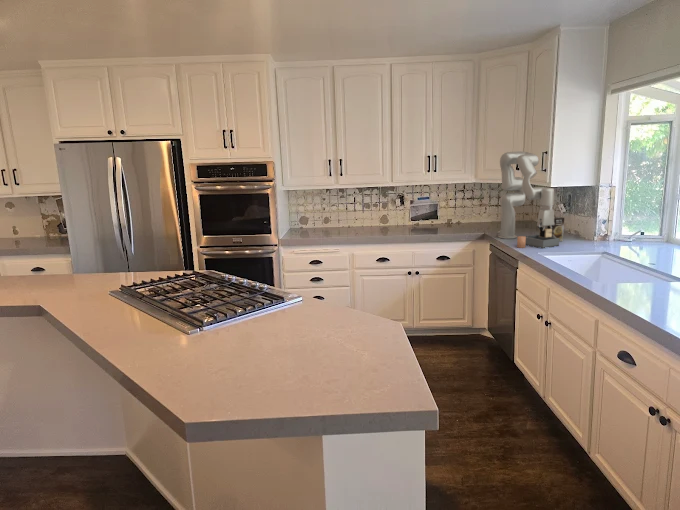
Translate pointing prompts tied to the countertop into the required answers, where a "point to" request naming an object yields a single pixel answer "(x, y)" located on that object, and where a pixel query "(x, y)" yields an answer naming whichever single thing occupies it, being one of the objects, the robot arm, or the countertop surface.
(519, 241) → the terracotta cylinder
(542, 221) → the robot arm
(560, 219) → the coffee box
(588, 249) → the countertop surface
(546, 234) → the maple cube
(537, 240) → the tote
